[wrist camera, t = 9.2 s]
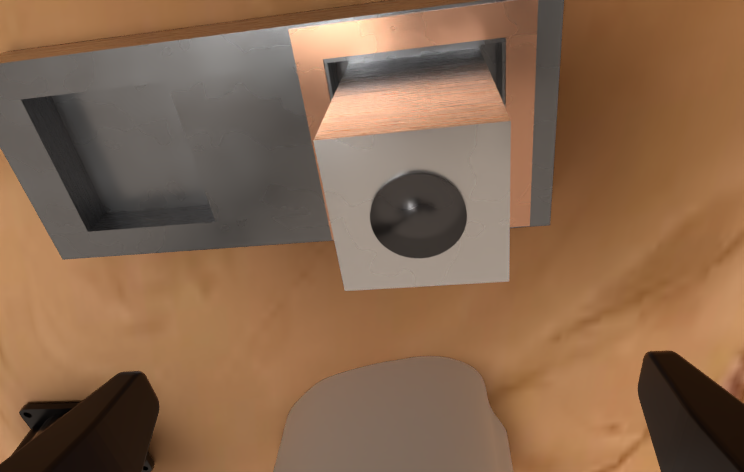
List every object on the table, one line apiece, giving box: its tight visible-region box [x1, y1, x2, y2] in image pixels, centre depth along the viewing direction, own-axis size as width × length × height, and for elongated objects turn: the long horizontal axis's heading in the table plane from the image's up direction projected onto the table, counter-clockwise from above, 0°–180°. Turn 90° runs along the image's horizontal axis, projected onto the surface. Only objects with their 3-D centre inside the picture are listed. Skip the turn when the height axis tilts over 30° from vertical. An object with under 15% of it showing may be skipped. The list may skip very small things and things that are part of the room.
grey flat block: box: [0, 0, 564, 259], centre depth 19 cm, size 20×8×3 cm, turn 97°
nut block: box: [313, 48, 511, 291], centre depth 16 cm, size 4×4×7 cm
